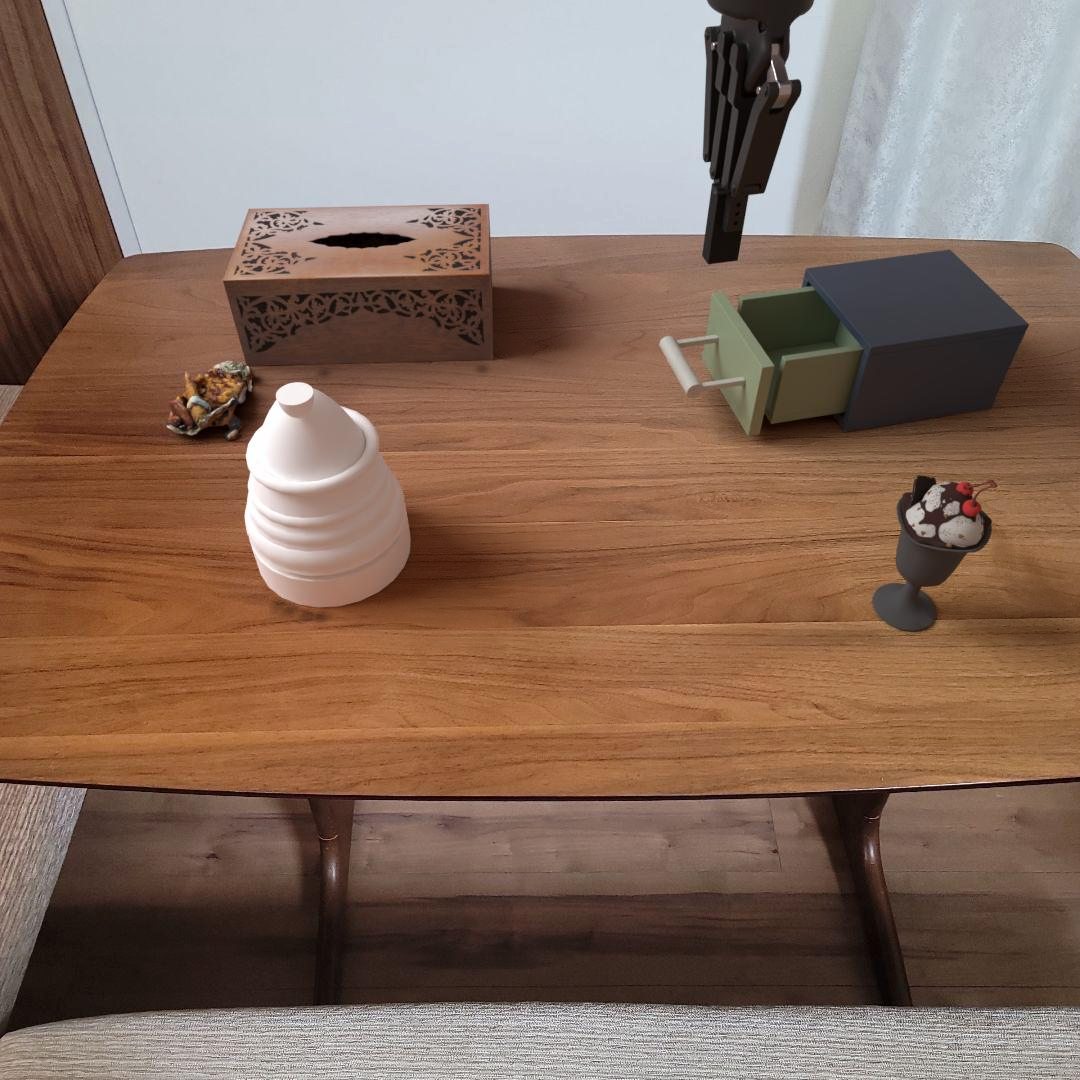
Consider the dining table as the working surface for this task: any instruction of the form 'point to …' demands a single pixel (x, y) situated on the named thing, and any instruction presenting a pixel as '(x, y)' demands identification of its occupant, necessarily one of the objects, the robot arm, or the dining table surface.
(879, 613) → the sundae
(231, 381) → the dish of fried food
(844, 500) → the dining table surface
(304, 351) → the tissue box cover
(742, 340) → the drawer
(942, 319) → the cabinet
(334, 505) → the honey pot
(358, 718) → the dining table surface
